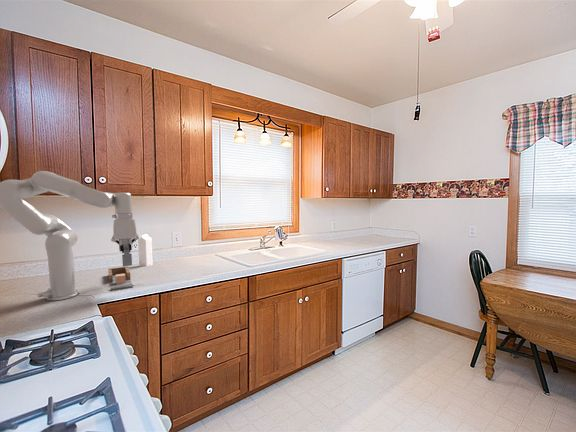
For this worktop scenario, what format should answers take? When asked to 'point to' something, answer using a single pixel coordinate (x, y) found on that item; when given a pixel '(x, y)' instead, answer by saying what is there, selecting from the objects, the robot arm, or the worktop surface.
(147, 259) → the milk
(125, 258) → the grey long bar
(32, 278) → the worktop surface
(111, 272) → the cubby
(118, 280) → the cube
